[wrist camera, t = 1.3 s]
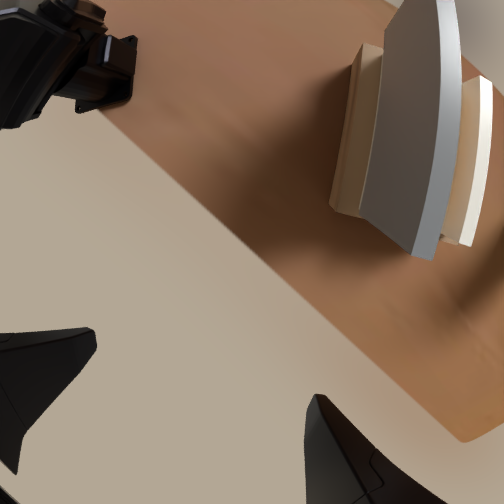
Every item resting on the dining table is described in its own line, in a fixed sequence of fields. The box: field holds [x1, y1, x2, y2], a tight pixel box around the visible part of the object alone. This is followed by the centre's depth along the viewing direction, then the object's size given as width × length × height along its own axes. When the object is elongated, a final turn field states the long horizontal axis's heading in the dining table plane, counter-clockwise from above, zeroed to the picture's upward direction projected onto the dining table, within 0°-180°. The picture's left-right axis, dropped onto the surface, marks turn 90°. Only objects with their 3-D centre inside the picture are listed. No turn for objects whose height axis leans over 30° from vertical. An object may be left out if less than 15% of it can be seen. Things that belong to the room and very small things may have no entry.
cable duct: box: [359, 54, 492, 247], centre depth 12 cm, size 6×10×3 cm, turn 170°
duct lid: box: [359, 0, 461, 261], centre depth 8 cm, size 6×10×1 cm
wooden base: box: [329, 43, 462, 246], centre depth 15 cm, size 9×11×4 cm
